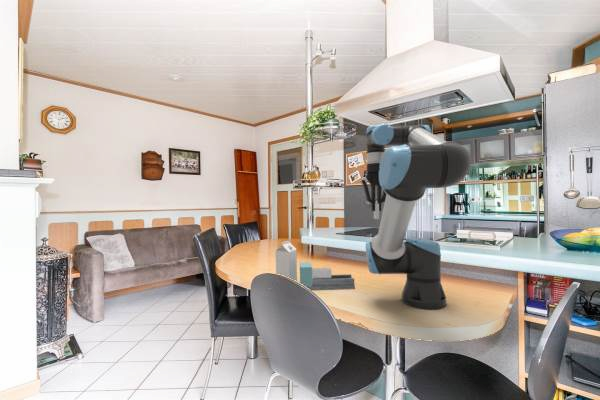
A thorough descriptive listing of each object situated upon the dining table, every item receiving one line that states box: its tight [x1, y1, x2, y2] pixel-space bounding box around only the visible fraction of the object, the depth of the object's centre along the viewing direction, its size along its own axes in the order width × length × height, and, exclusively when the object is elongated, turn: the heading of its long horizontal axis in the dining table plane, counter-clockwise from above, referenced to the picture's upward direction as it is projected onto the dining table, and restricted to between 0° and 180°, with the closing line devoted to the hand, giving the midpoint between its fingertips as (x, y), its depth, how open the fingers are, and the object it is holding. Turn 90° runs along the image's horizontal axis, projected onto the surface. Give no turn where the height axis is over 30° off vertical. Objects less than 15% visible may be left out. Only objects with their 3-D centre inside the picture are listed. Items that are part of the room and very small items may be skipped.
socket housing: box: [299, 261, 313, 287], centre depth 130 cm, size 9×5×8 cm, turn 1°
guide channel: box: [307, 273, 356, 291], centre depth 130 cm, size 9×23×4 cm, turn 91°
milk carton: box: [275, 240, 298, 282], centre depth 137 cm, size 7×7×19 cm
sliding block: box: [312, 267, 333, 284], centre depth 130 cm, size 4×12×6 cm, turn 91°
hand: (376, 218), depth 127 cm, fingers closed
